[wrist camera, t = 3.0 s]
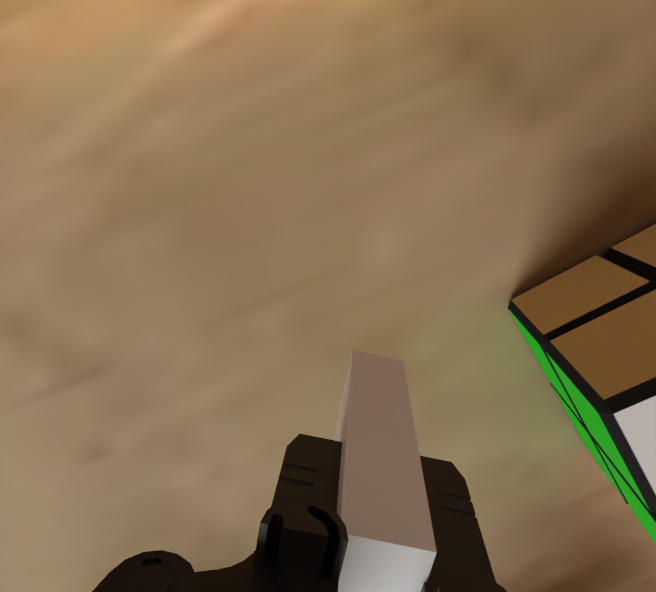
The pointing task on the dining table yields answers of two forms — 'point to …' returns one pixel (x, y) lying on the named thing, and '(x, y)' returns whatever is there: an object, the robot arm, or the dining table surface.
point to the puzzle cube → (604, 360)
